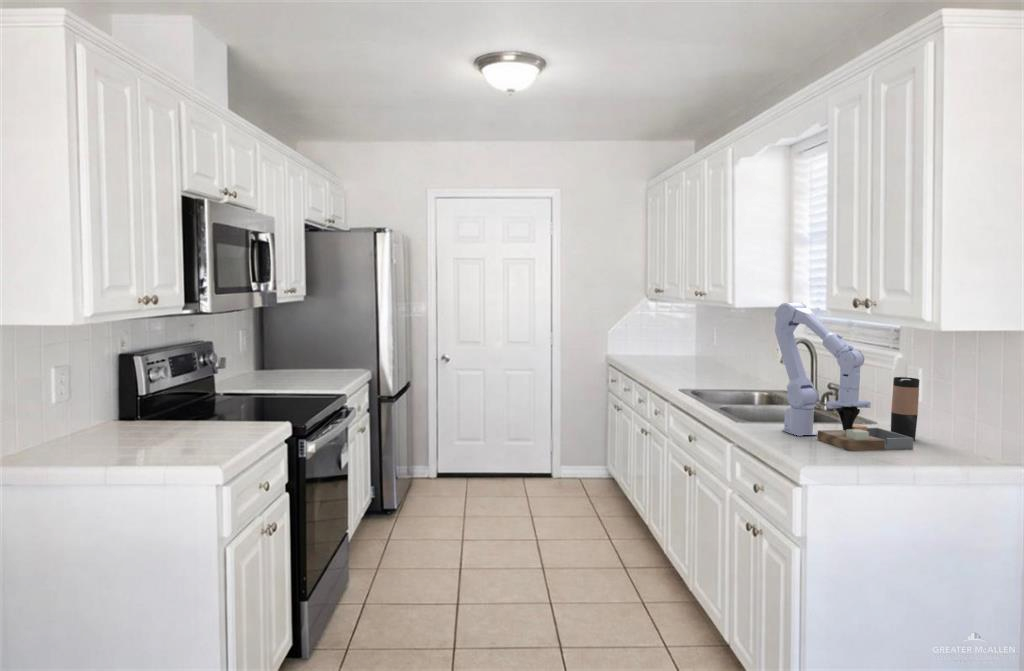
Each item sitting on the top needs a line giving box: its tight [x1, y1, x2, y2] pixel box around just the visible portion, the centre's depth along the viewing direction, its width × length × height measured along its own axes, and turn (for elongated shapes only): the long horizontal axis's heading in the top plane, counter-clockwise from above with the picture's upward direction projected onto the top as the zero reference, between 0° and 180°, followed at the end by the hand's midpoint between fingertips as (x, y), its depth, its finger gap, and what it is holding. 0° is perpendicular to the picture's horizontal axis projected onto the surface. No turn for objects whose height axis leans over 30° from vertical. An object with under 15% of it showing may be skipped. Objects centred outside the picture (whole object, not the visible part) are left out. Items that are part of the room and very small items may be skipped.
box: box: [867, 427, 914, 451], centre depth 233 cm, size 16×10×4 cm, turn 12°
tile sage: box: [846, 429, 869, 440], centre depth 226 cm, size 4×4×2 cm
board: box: [817, 429, 885, 452], centre depth 230 cm, size 16×12×3 cm
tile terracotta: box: [845, 423, 868, 432], centre depth 234 cm, size 4×4×2 cm
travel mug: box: [890, 376, 920, 442], centre depth 241 cm, size 8×8×20 cm
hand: (846, 430), depth 233 cm, fingers closed
